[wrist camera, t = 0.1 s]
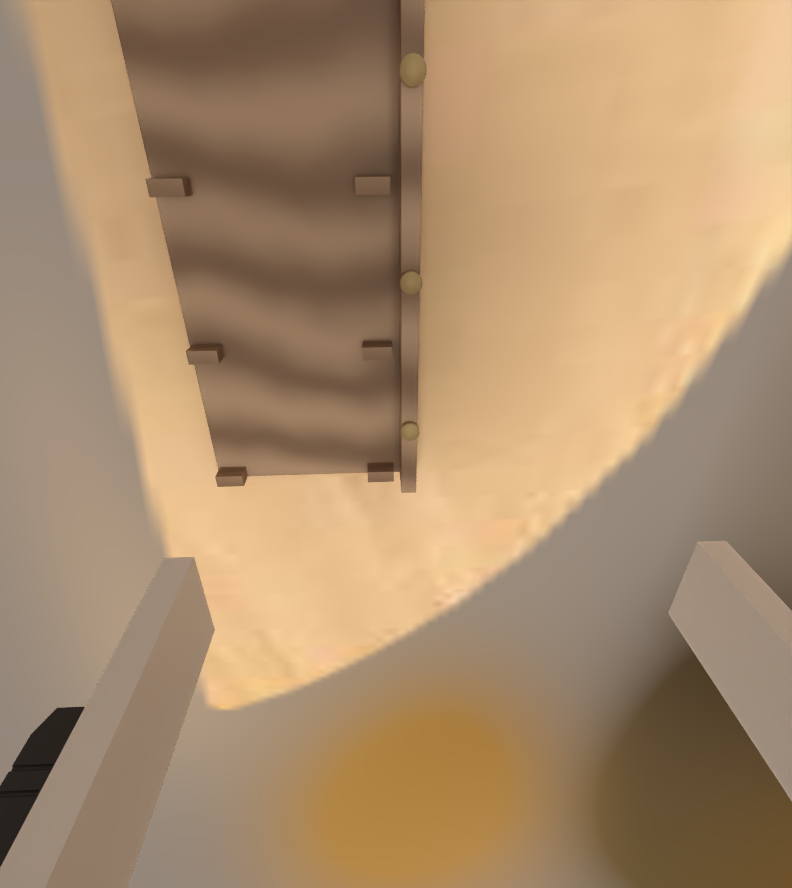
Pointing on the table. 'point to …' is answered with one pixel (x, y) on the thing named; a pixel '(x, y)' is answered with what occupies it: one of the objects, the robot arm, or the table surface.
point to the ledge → (290, 220)
